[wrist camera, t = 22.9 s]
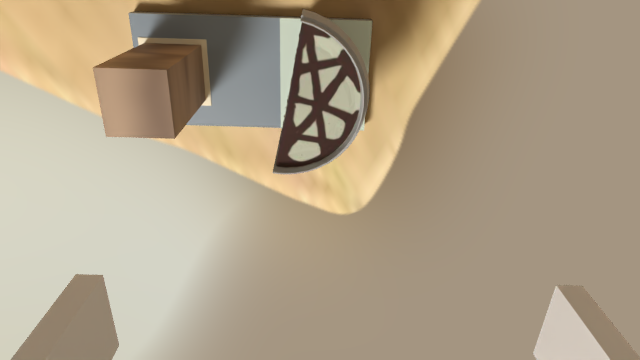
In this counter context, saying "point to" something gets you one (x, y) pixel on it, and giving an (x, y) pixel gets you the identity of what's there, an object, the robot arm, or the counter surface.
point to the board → (241, 60)
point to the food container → (322, 97)
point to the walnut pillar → (151, 90)
